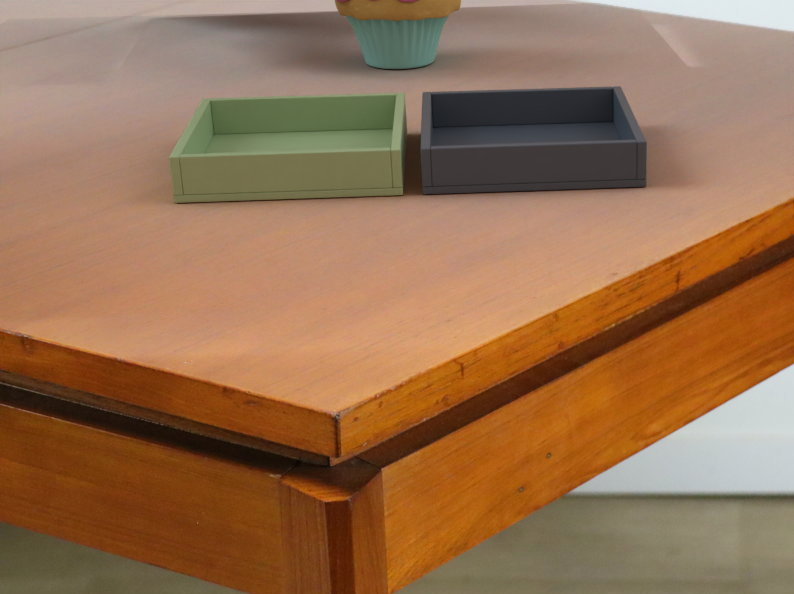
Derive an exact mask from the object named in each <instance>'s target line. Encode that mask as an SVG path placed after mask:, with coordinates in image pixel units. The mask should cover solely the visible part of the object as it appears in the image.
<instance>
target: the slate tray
mask: <svg viewBox="0 0 794 594" xmlns="http://www.w3.org/2000/svg"><path fill="white" fill-rule="evenodd" d="M421 97H422V98H421V120H420V121H421V124H420V127H421V128H420V165H421V166H420V168H421V185H422V195H444V194H448V195H449V194H474V193H503V192H505V193H507V192H533V191H534V192H535V191H561V190H562V191H563V190H591V189H617V188H618V189H621V188H622V189H623V188H645V187H647V164H648V163H647V158H648V157H647V154H648V152H647V149H648V148H647V147H648V146H647V145H648V143H647V140H646V138H645V136H644V133H643V132H642V129H641V127H640V125H639V123H638V121H637V118H636V116H635V114H634V111H633V110H632V107H631V105H630V103H629V101H628V99H627V97H626V95H625V93H624V91H623V88H622V86H621V85H615V86H583V87H582V86H581V87H580V86H579V87H550V88H549V87H545V88H542V87H541V88H516V89H515V88H512V89H511V88H509V89H481V90H479V89H478V90H477V89H476V90H447V91H442V90H441V91H422V96H421Z"/></svg>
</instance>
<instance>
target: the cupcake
mask: <svg viewBox="0 0 794 594" xmlns="http://www.w3.org/2000/svg"><path fill="white" fill-rule="evenodd" d="M334 3H335V7H336V10H337V12H338V14H339V15H341V16H344V17H346V19H347V20H348V22H349V24H350V26H351V28H352V30H353V32H354V34H355V37H356V40H357V42H358V44H359V47H360V50H361V53H362V56H363V58H364V62H365V64H366V65H368V66H370V67H372V68H376V69H383V70H384V69H385V70H407V69H415V68H417V69H418V68H423V67H425V66H428V65H431V64H432V63H433V62H434V61H436V55H437V52H438V47H439V43H440V39H441V35H442V33H443V30H444V26H445V24H446V22H447V20H448V18H449V16H450V15H451V14H452V13H454V12H457V11H459V10H460V9H461V5H462V0H334Z"/></svg>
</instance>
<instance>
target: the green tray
mask: <svg viewBox="0 0 794 594" xmlns="http://www.w3.org/2000/svg"><path fill="white" fill-rule="evenodd" d="M406 102H407V101H406V93H405V92H381V93H380V92H377V93H373V92H372V93H343V94H342V93H341V94H310V95H309V94H308V95H305V94H304V95H277V96H276V95H275V96H243V97H239V96H238V97H212V98H210V97H209V98H207V97H206V98H202V99H201V101H200V102H199V104H198V106H197V108H196V109H195V111H194V113H193V115H192V117H190V118H191V119H190V120H189V122H188V123H187V124H186V127H185V129H184V130H183V132H182V134H181V136H180V137H179V139H178V141H177V143H176V144H175V146H174V147H173V149H172V151H171V153H170V155H169V156H168V162H169V171H170V178H171V185H172V195H173V202H174V203H175V204H184V203H185V204H187V203H213V202H214V203H215V202H216V203H217V202H242V201H245V202H247V201H270V200H271V201H272V200H302V199H303V200H304V199H329V198H330V199H333V198H356V197H359V198H361V197H385V196H389V197H390V196H391V197H392V196H403V195H404V189H405V187H404V186H405V172H406V158H407V144H408V143H407V142H408V122H407V121H408V120H407V119H408V118H407V103H406Z"/></svg>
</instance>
